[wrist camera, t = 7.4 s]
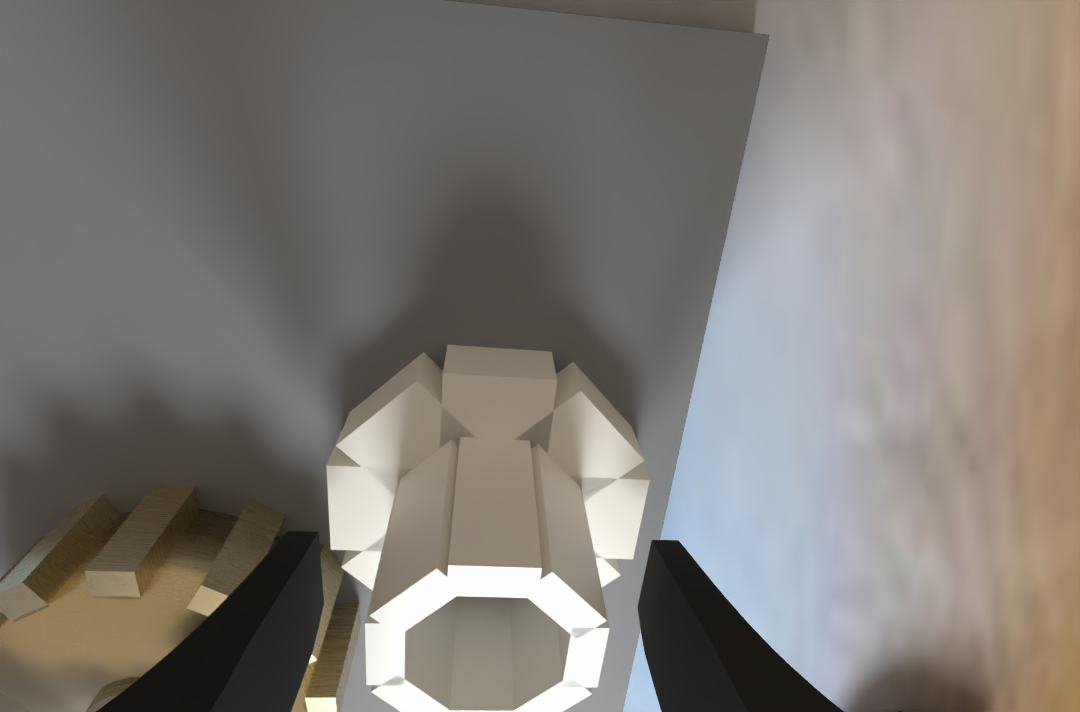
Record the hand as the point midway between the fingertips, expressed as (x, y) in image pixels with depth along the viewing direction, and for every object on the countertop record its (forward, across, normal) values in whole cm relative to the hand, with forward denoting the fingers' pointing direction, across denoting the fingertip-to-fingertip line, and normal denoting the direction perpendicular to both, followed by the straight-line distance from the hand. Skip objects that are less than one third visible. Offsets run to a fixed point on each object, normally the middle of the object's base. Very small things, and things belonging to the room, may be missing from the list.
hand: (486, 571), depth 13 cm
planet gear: (+3, 0, 0) cm, 3 cm away
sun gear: (+3, +8, +5) cm, 10 cm away
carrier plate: (+4, +4, 0) cm, 6 cm away
